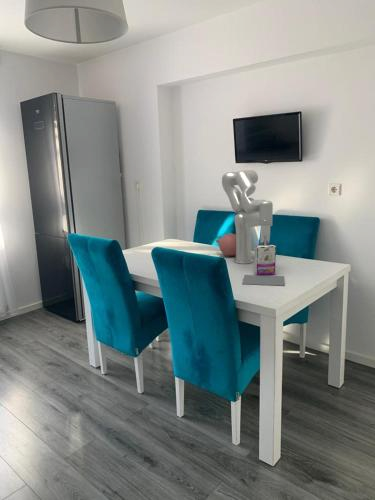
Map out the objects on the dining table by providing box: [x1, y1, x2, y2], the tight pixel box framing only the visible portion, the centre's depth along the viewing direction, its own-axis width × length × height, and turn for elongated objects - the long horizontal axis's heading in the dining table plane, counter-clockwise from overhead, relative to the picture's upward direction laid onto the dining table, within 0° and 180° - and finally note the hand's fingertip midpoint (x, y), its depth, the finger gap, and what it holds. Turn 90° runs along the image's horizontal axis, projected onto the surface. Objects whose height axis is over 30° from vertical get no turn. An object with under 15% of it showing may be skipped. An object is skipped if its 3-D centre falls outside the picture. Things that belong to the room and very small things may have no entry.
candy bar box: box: [253, 244, 277, 276], centre depth 229 cm, size 11×5×16 cm, turn 101°
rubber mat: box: [241, 274, 286, 287], centre depth 219 cm, size 17×22×1 cm
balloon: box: [215, 233, 236, 257], centre depth 276 cm, size 15×20×15 cm
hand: (265, 254), depth 235 cm, fingers closed
